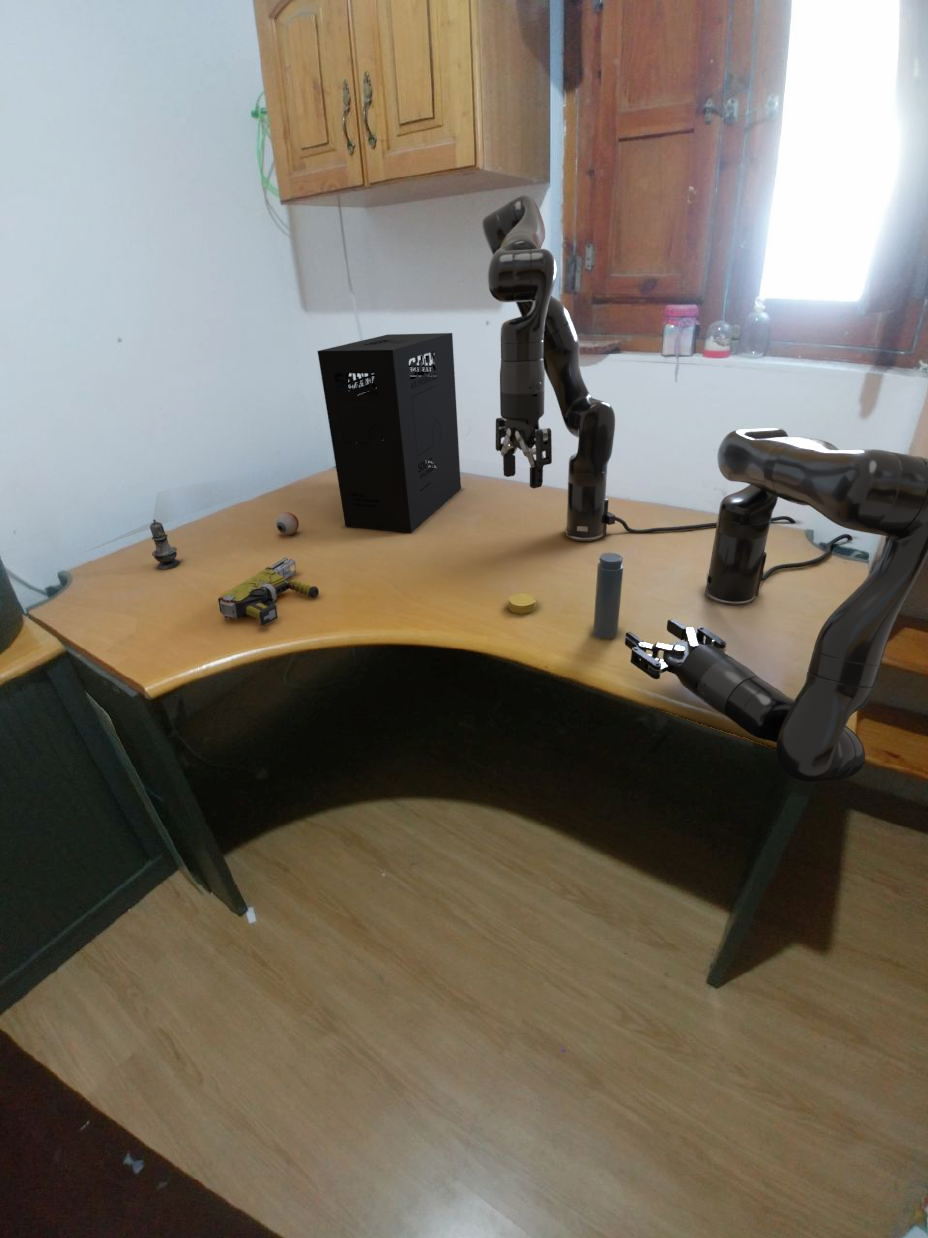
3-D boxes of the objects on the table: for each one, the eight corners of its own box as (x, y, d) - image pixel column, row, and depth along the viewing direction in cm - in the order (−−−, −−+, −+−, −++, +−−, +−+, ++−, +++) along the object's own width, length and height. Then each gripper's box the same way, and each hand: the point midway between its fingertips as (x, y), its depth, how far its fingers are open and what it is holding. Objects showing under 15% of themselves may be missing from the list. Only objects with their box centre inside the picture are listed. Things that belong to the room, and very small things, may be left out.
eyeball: (273, 537, 164) (268, 516, 161) (287, 528, 169) (282, 508, 166) (291, 539, 161) (286, 518, 158) (305, 530, 166) (301, 510, 163)
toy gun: (338, 566, 137) (282, 554, 141) (276, 612, 117) (212, 597, 121) (339, 585, 140) (283, 573, 144) (278, 633, 120) (216, 618, 124)
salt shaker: (171, 569, 148) (156, 523, 142) (150, 569, 149) (135, 523, 143) (185, 560, 153) (172, 515, 147) (165, 559, 154) (151, 514, 148)
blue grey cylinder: (595, 639, 111) (601, 563, 104) (591, 627, 115) (596, 552, 107) (619, 638, 111) (626, 561, 103) (614, 626, 115) (620, 551, 107)
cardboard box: (403, 484, 198) (387, 334, 176) (460, 488, 192) (452, 332, 169) (345, 526, 168) (317, 350, 145) (411, 532, 161) (392, 349, 139)
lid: (538, 612, 121) (538, 604, 120) (511, 615, 121) (511, 607, 120) (532, 599, 126) (532, 592, 125) (507, 602, 125) (506, 594, 124)
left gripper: (481, 385, 106) (484, 476, 114) (527, 396, 95) (527, 495, 103) (517, 380, 109) (517, 469, 117) (566, 389, 98) (562, 487, 106)
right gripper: (762, 646, 88) (684, 600, 101) (685, 673, 83) (614, 621, 96) (752, 688, 92) (679, 638, 105) (678, 716, 87) (610, 660, 100)
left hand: (522, 481), depth 110 cm, fingers open, 8 cm apart
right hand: (648, 630), depth 100 cm, fingers open, 8 cm apart
